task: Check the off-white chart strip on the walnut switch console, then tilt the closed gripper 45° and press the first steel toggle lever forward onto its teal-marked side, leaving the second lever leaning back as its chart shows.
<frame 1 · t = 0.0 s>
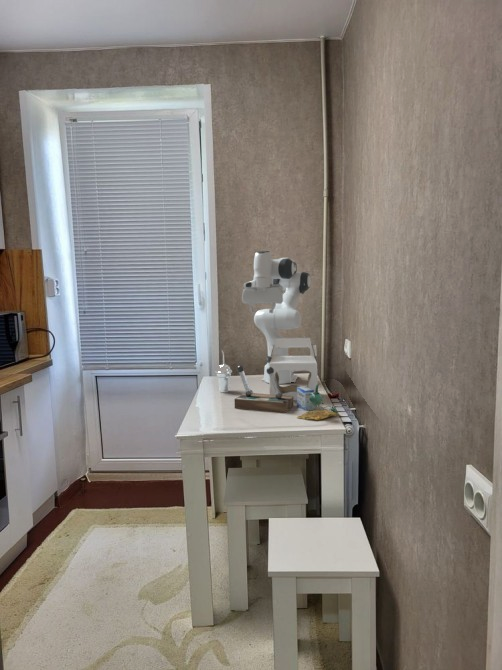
hand: (262, 313, 232), 39 cm above the table, fingers open, 8 cm apart
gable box: (293, 397, 226), on the table
switch console: (265, 406, 210), on the table
lever two: (274, 382, 207), point 11 cm above the table, hinge at -20.0°
lever one: (244, 380, 213), point 11 cm above the table, hinge at -20.0°
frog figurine: (319, 418, 194), on the table
medicine box: (305, 408, 207), on the table
cup with straw: (224, 391, 240), on the table
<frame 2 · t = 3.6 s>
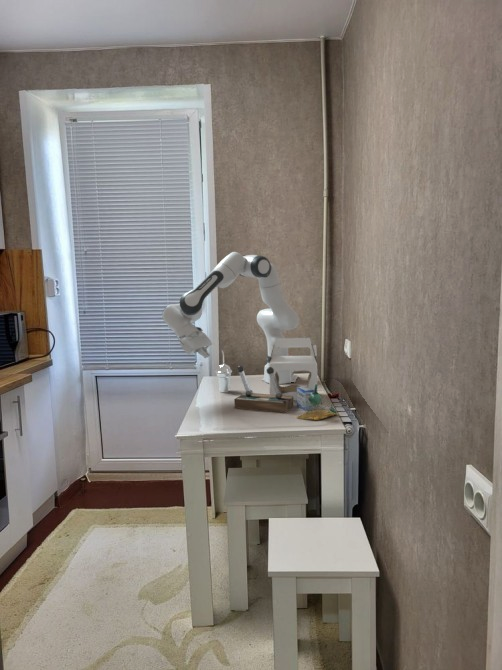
hand: (207, 356, 218), 21 cm above the table, fingers closed
nothing on the table moved.
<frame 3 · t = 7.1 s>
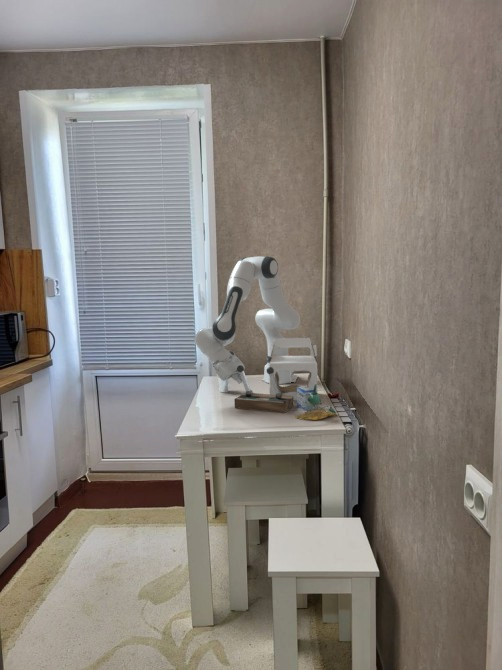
hand: (241, 382, 213), 10 cm above the table, fingers closed, pressing on lever one
lever one: (244, 380, 213), point 11 cm above the table, hinge at -19.7°, touching gripper
everything else where it was.
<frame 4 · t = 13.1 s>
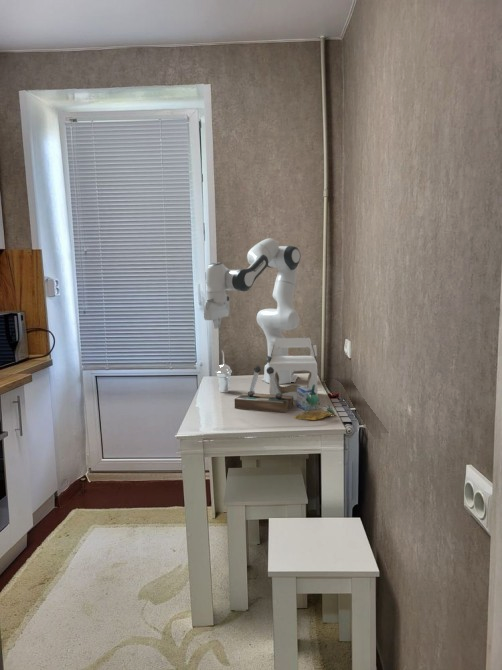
hand: (217, 328, 223), 33 cm above the table, fingers closed
lever one: (254, 380, 211), point 11 cm above the table, hinge at 16.2°
at the end: lever one at +16° (first picture: -20°); lever two at -20° (first picture: -20°) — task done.
